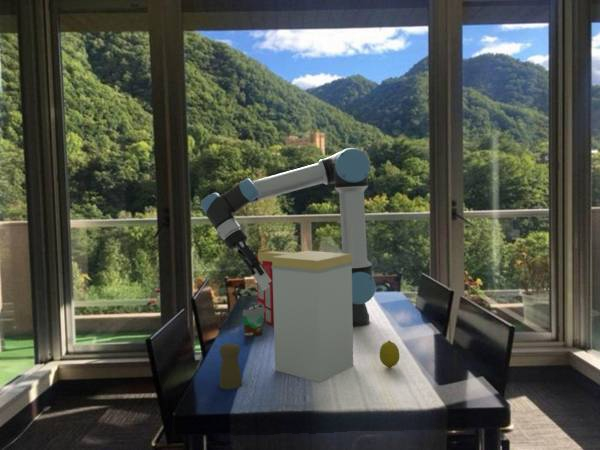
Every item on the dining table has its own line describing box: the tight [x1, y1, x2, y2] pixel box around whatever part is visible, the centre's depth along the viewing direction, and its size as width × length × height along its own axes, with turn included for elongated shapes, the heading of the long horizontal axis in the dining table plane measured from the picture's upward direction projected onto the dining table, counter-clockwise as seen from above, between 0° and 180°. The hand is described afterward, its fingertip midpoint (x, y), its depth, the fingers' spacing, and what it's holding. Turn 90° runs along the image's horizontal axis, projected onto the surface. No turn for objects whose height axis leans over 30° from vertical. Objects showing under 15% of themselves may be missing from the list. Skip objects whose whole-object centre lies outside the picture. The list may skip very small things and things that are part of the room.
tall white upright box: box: [271, 263, 354, 383], centre depth 150 cm, size 16×16×30 cm
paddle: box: [257, 247, 352, 270], centre depth 152 cm, size 27×16×3 cm, turn 51°
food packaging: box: [255, 255, 274, 327], centre depth 204 cm, size 15×5×25 cm, turn 26°
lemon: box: [379, 340, 400, 369], centre depth 149 cm, size 6×6×8 cm
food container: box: [242, 302, 265, 338], centre depth 187 cm, size 12×6×10 cm, turn 168°
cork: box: [219, 342, 243, 390], centre depth 139 cm, size 6×6×11 cm
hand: (267, 286), depth 176 cm, fingers open, 13 cm apart
